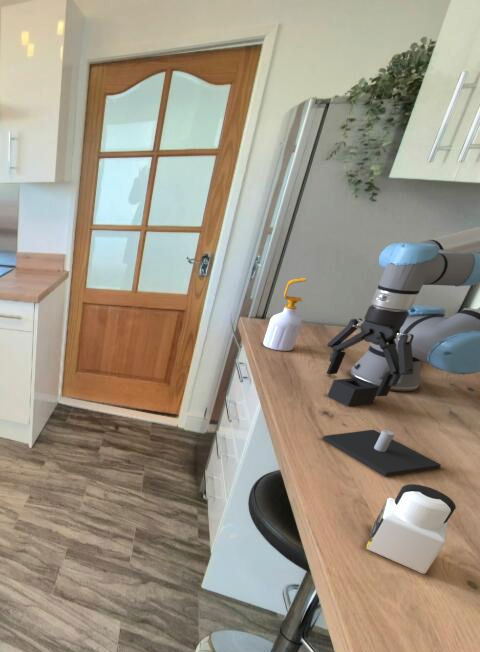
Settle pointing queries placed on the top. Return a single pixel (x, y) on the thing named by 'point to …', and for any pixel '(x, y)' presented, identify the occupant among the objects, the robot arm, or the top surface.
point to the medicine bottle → (412, 527)
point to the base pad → (381, 452)
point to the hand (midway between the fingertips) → (354, 384)
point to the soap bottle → (284, 324)
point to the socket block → (353, 391)
